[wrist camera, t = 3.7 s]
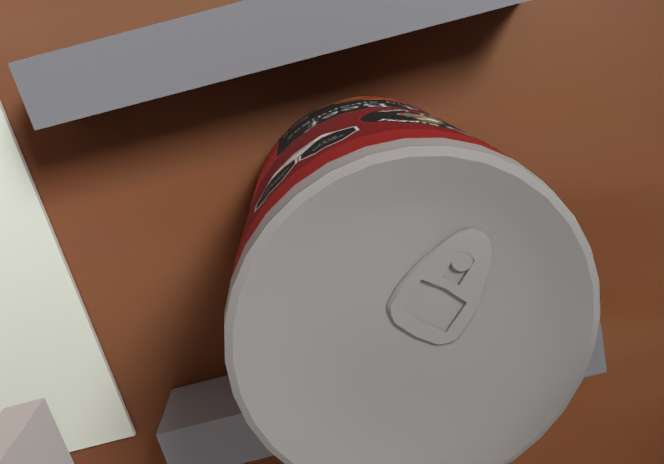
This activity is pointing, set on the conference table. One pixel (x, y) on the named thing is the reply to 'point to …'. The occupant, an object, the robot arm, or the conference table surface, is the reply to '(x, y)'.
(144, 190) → the conference table surface
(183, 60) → the chute
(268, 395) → the canned food
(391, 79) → the conference table surface
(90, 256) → the conference table surface
